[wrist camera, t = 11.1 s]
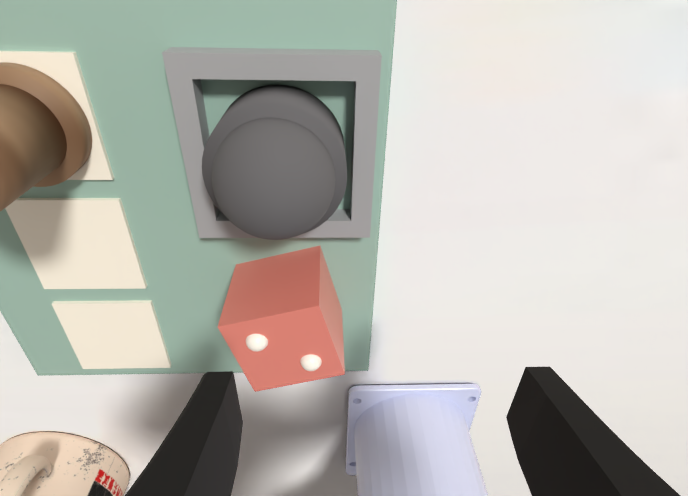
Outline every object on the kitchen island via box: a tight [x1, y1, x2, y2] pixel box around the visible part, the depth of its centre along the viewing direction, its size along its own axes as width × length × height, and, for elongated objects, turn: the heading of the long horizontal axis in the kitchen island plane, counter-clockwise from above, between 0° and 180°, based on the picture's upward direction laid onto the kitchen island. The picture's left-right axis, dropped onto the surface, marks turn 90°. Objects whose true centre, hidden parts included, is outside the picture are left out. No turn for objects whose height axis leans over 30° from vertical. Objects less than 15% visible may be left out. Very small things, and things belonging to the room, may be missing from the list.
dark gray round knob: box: [202, 84, 347, 240], centre depth 14 cm, size 5×5×5 cm
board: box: [0, 0, 397, 375], centre depth 18 cm, size 18×18×2 cm
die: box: [218, 246, 345, 392], centre depth 19 cm, size 4×4×4 cm
